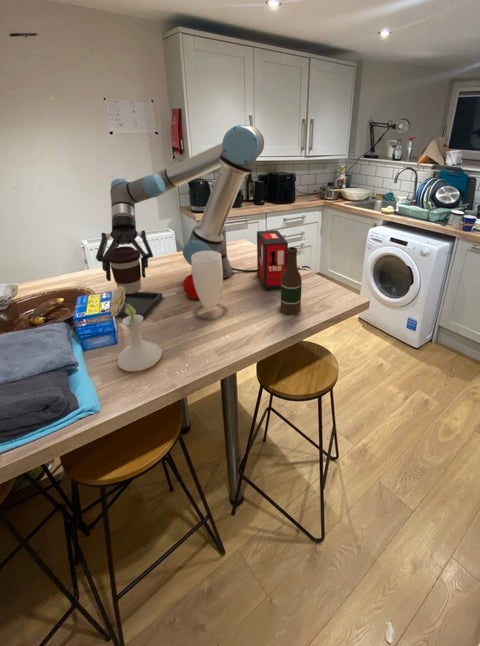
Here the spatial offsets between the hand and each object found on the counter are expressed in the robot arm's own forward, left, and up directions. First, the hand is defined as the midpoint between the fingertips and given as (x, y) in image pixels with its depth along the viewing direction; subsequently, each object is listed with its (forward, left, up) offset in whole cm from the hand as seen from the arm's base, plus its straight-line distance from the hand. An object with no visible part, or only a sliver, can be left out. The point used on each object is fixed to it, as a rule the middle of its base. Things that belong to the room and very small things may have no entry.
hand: (126, 278), depth 112 cm
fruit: (-18, -14, -13) cm, 26 cm away
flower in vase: (-16, +26, -13) cm, 33 cm away
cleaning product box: (-45, -31, -13) cm, 56 cm away
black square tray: (+1, -3, -13) cm, 13 cm away
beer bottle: (-55, -8, -13) cm, 57 cm away
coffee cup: (+1, -3, -6) cm, 7 cm away
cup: (-27, -3, -13) cm, 30 cm away
